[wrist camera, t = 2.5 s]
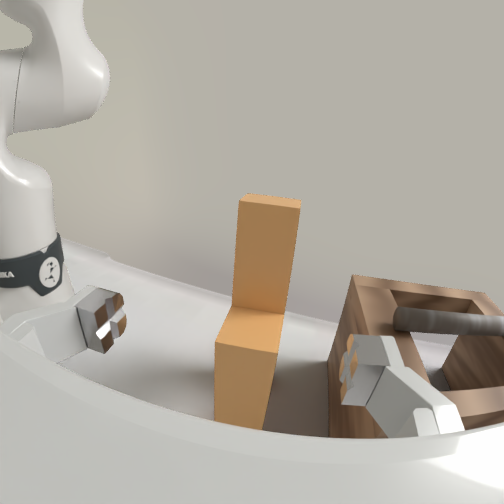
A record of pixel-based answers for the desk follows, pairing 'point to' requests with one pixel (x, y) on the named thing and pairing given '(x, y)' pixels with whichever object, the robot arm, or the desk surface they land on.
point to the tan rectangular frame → (399, 326)
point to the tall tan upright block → (255, 309)
